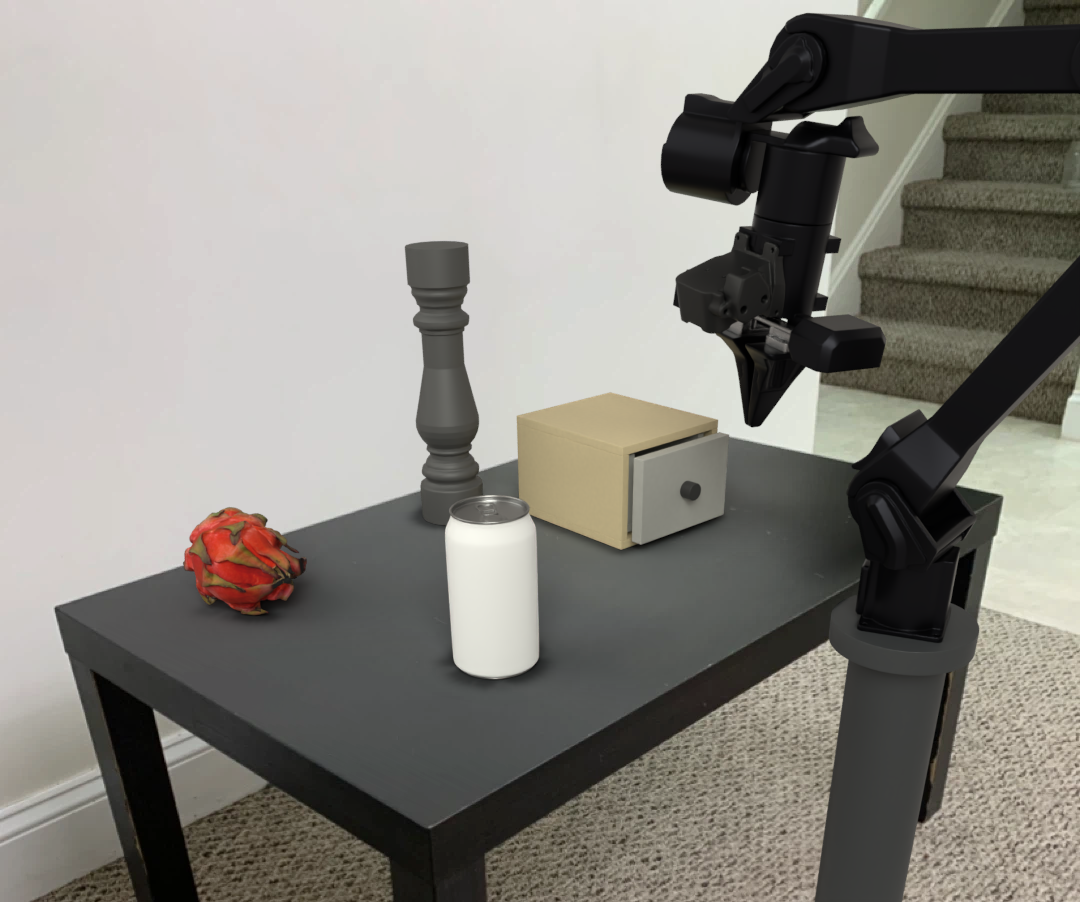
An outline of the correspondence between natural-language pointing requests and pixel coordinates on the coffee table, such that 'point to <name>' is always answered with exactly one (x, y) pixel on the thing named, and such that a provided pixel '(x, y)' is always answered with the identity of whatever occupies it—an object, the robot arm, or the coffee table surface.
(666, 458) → the grey drawer with knob
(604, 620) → the coffee table surface
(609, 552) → the coffee table surface
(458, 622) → the can
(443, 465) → the candle holder
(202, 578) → the dragon fruit
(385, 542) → the coffee table surface
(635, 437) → the small drawer cabinet
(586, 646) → the coffee table surface
